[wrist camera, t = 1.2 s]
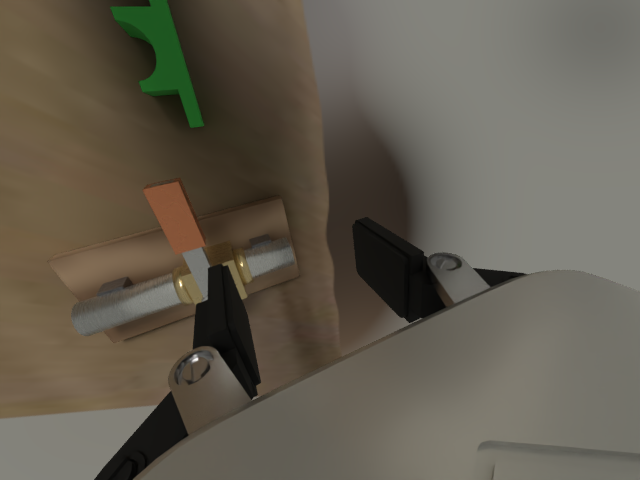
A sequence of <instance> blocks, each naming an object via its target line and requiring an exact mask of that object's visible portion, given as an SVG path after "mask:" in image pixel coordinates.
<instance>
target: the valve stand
mask: <svg viewBox="0 0 640 480" xmlns="http://www.w3.org/2000/svg"><path fill="white" fill-rule="evenodd" d="M197 219H198V221H199V223H200V226H201V228H202V230H203V233H204V235H205V238H206V246H204V248H206V247H209V246H213V245H216V244H219V243H223V242H226V241H230V242H231V245H232V247H233V250H235V249H238V248H241V247H243V249H244V250H246V249H249V248H252V246H251V243H250V240H249V239H252V238H255V237H258V236H261V235H265V234H268V235H269V237H270V239H271V241H275V240H278V239H281V238H284V237H286V238H287V240H288V242H289V244H290V247H291V250H292V253H293V256H294V261H295V264H294V265H292V266H289V267H286V268H283V269H280V270H277V271H274V272H271V273H269V274H266V275H263V276H260V277H257V278H254V282H253V283H250V284H247V285H245V288H246V292H247V295H249V294H252V293H255V292H257V291H260V290H263V289H266V288H268V287H271V286H274V285H277V284H279V283H282V282H285V281H288V280H290V279H293V278H296V277H299V276H300V273H299V269H298V265H297V261H296V256H295V252H294V248H293V244H292V239H291V235H290V231H289V226H288V222H287V218H286V214H285V209H284V205H283V201H282V198H281V197H280V196H279V195H278V196H274V197H270V198H267V199H263V200H259V201H255V202H252V203H248V204H244V205H240V206H237V207H233V208H229V209H225V210H222V211H218V212H214V213H210V214H207V215H203V216H199V217H197ZM183 260H184V257H183V255H182V253H180V254H177V255H175V253H174V251H173V249H172V247H171V245H170V243H169V241H168V239H167V237H166V235H165V233H164V231H163V229H162V227H158V228H154V229H150V230H146V231H143V232H139V233H135V234H131V235H128V236H124V237H120V238H116V239H113V240H109V241H105V242H101V243H98V244H94V245H90V246H86V247H83V248H79V249H75V250H71V251H68V252H64V253H60V254H56V255H54V256H53V257H52V258H51V259H50V260H49V261H47V262H48V263H49V265H50V266H51V267H52V268H53V270H54V271H55V272H56V273H57V275H58V276H59V277H60V278H61V279H62V281H63V282H64V283H65V284H66V286H67V287H68V288H69V289H70V290H71V292H72V293H73V294H74V295H75V297H76V298H77V299H78V300H79V302H81V301H84V300H87V299H90V298H93V297H97V295H96V294H97V292H98V291H99V289H100V287H101V286H102V284H104V283H107V282H110V281H114V280H117V279H120V278H123V277H127V276H128V277H129V279H130V280H131V282H132V284H133V285H135V284H138V283H141V282H144V281H148V280H151V279H154V278H157V277H160V276H163V275H167V274H170V273H172V271H173V269H174V268H177V267H180V266H183ZM195 311H196V306H195V304H194V303H193V304H190V305H188V306H185V305H183V304H179V305H177V306H174V307H171V308H168V309H165V310H162V311H159V312H156V313H154V314H151V315H148V316H145V317H142V318H139V319H136V320H133V321H131V322H128V323H125V324H122V325H119V326H116V327H113V328H110V329H108V330H105V331H104V332H105V333H106V335H107V336H108V337H109V338H110V340H111V341H112V342H113V343H117V342H120V341H122V340H125V339H128V338H131V337H133V336H136V335H139V334H142V333H144V332H147V331H150V330H153V329H155V328H158V327H161V326H164V325H166V324H169V323H172V322H175V321H177V320H180V319H183V318H186V317H188V316H191V315H194V314H195Z"/></svg>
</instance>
